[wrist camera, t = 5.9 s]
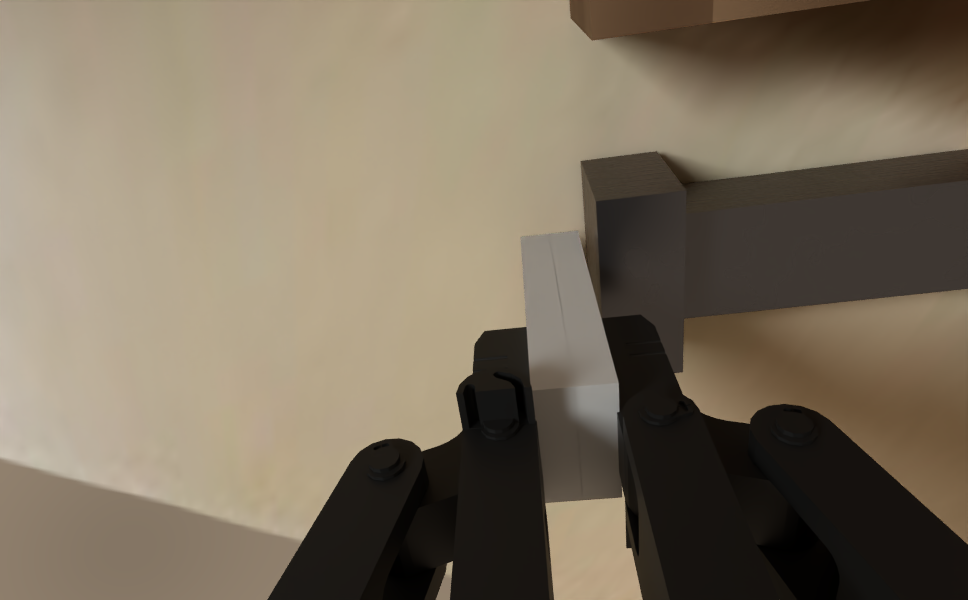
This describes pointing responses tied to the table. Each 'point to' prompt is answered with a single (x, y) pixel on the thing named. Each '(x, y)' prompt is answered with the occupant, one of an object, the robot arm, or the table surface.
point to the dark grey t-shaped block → (770, 237)
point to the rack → (675, 13)
